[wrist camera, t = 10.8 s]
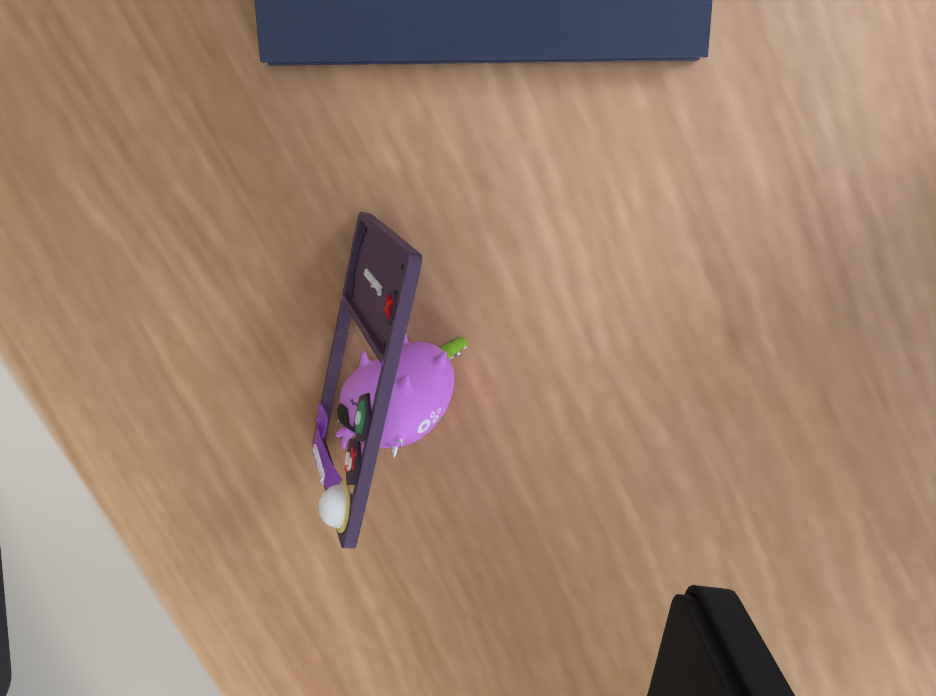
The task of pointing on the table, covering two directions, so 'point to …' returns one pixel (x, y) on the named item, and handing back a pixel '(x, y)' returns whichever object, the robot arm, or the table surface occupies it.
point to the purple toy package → (378, 374)
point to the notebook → (480, 31)
